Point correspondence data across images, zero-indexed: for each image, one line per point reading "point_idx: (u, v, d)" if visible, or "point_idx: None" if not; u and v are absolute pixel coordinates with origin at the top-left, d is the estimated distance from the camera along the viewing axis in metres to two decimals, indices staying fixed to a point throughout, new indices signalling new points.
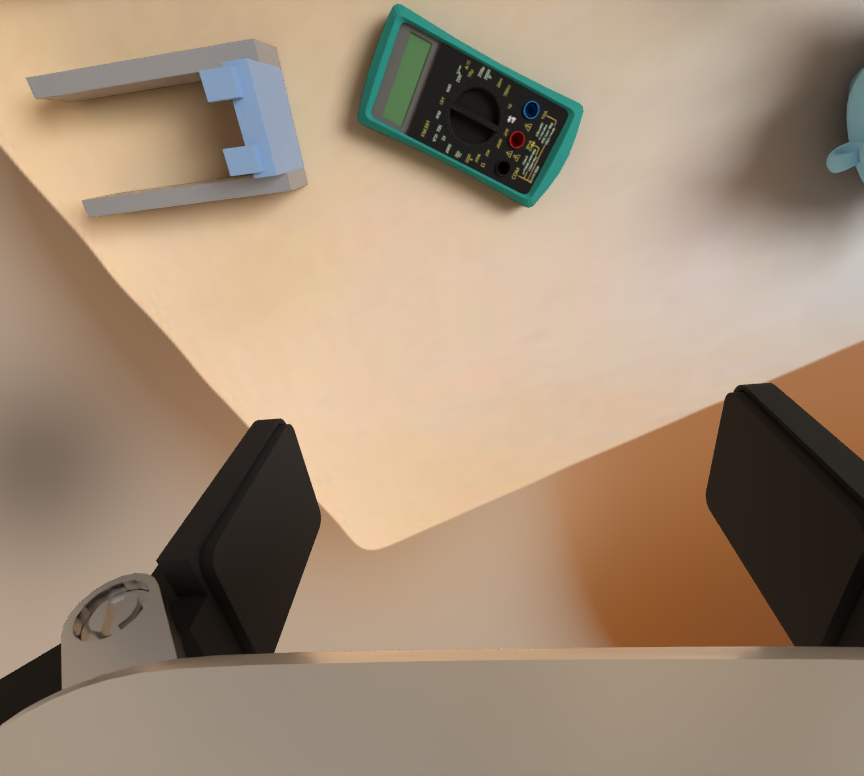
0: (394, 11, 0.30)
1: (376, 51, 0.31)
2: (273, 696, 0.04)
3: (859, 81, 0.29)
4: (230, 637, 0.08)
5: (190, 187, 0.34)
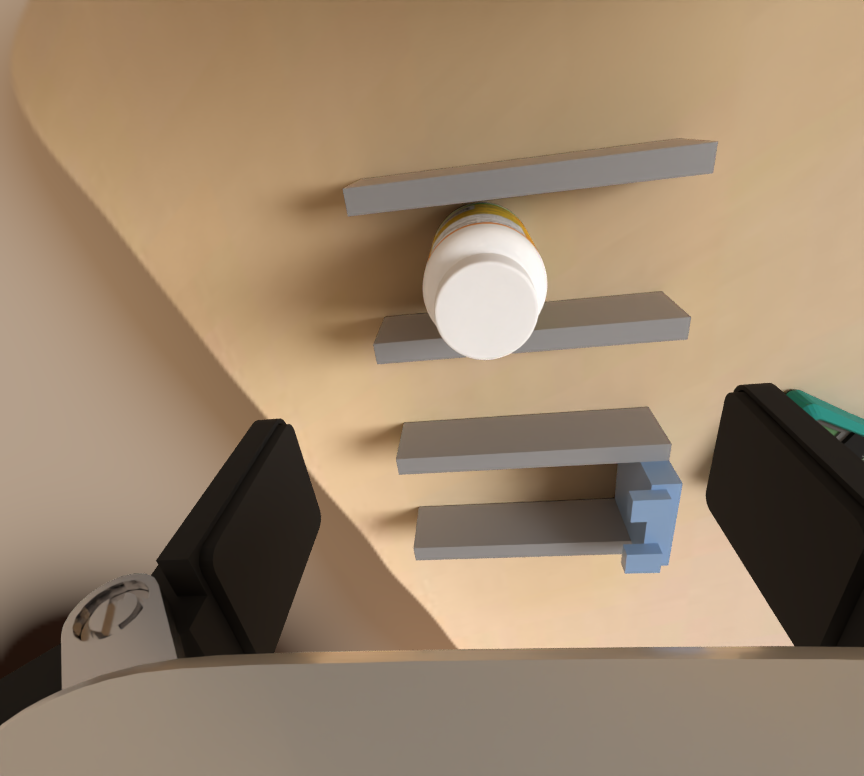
0: (809, 411, 0.28)
1: None
2: (273, 696, 0.04)
3: None
4: (230, 638, 0.08)
5: (541, 545, 0.32)
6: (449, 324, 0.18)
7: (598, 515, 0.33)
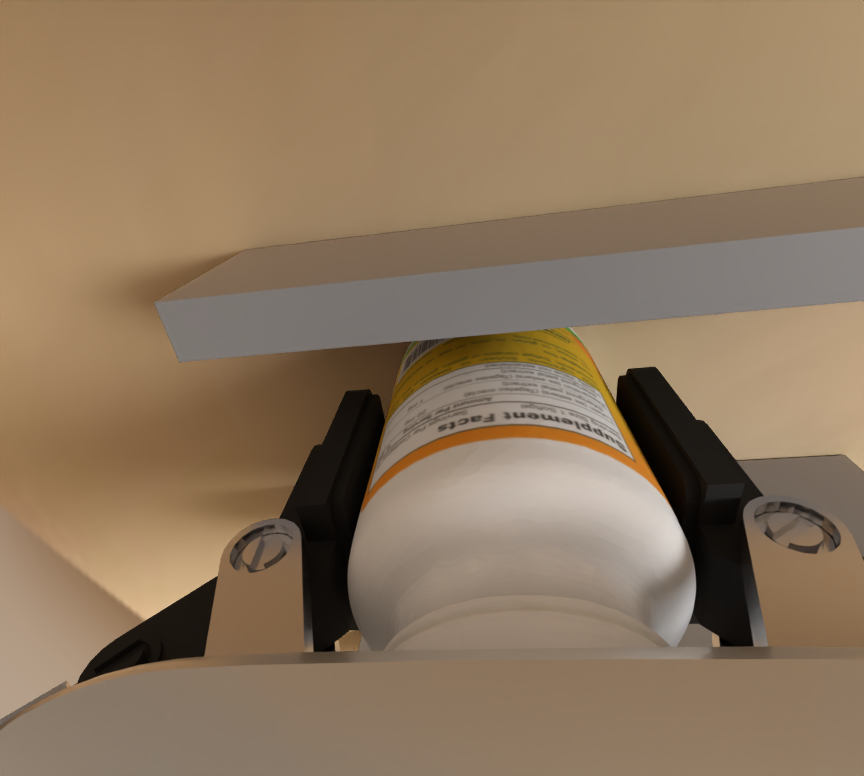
0: None
1: None
2: (273, 696, 0.04)
3: None
4: None
5: None
6: None
7: None
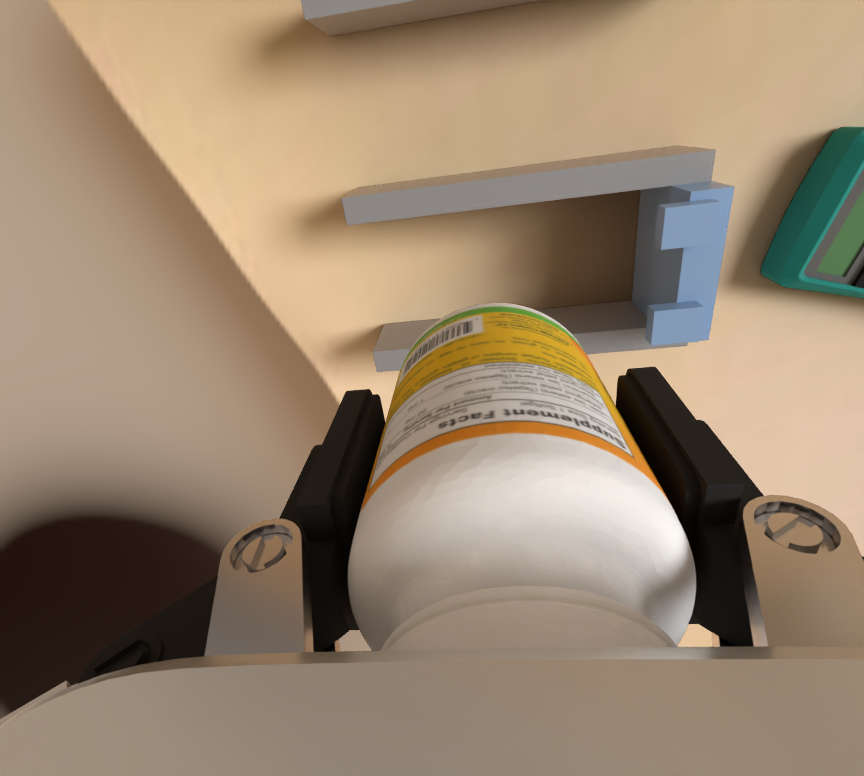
0: None
1: (825, 195, 0.22)
2: (273, 696, 0.04)
3: None
4: None
5: None
6: None
7: (611, 312, 0.26)
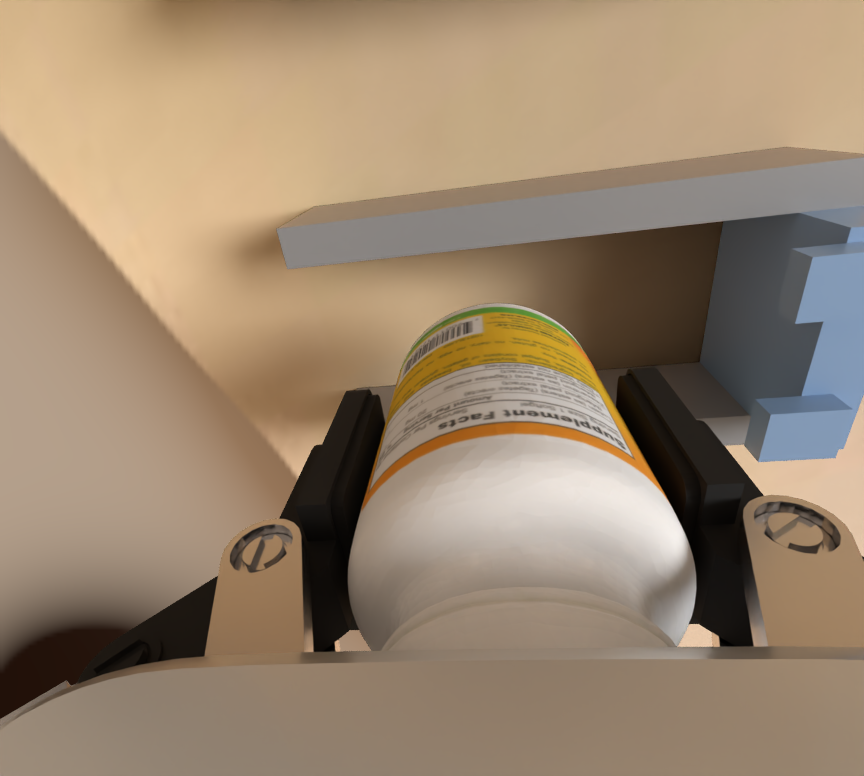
0: None
1: None
2: (273, 696, 0.04)
3: None
4: None
5: None
6: None
7: (675, 384, 0.18)
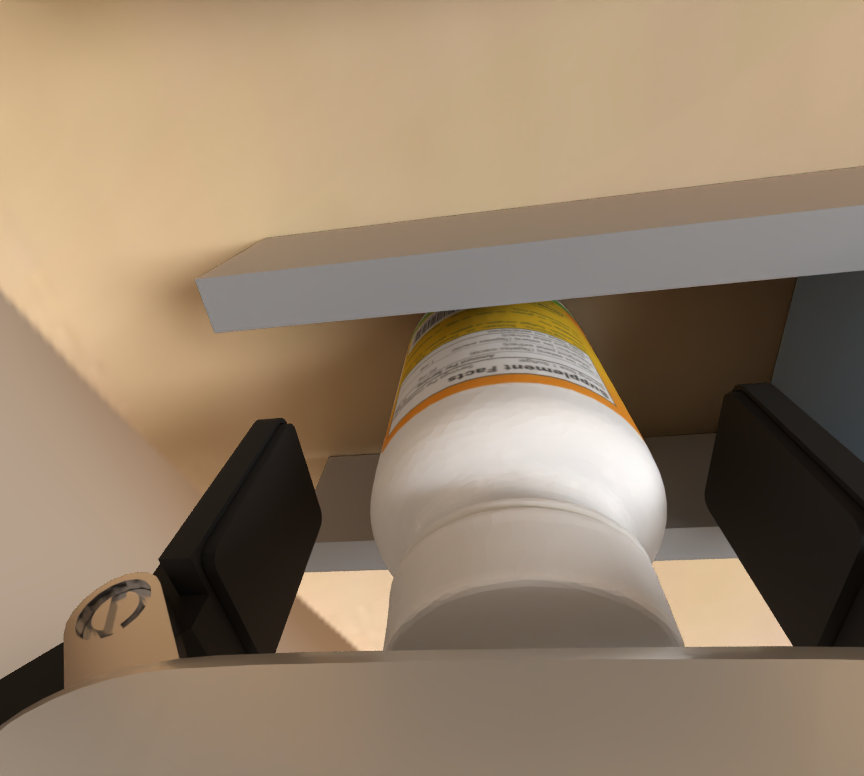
0: None
1: None
2: (273, 696, 0.04)
3: None
4: (232, 637, 0.08)
5: None
6: None
7: None
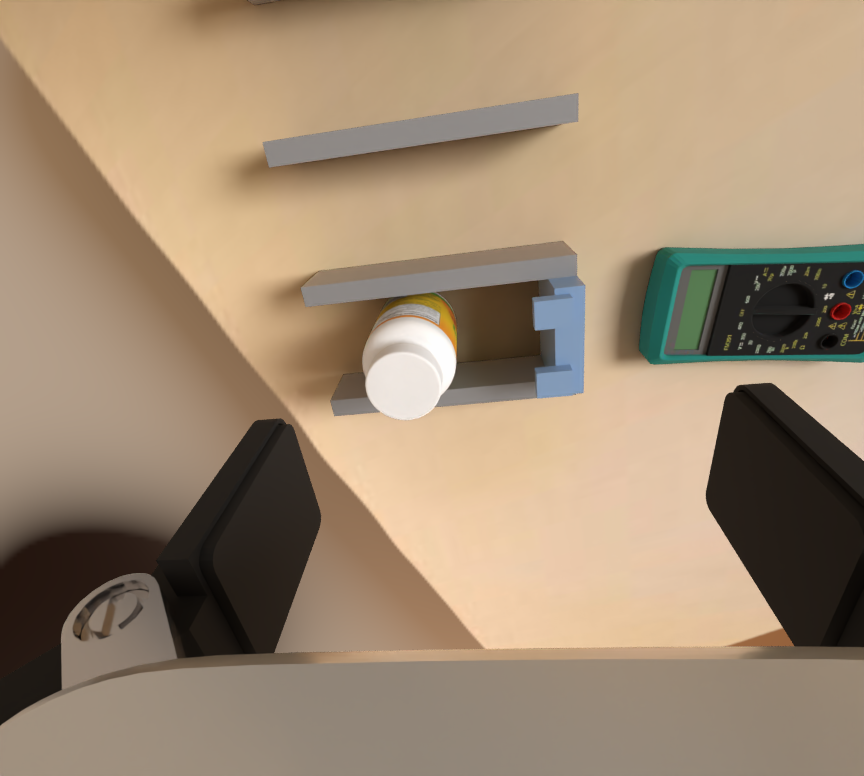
0: (672, 262, 0.28)
1: (658, 301, 0.29)
2: (273, 696, 0.04)
3: None
4: (230, 638, 0.08)
5: (460, 390, 0.31)
6: (377, 395, 0.25)
7: (521, 366, 0.32)
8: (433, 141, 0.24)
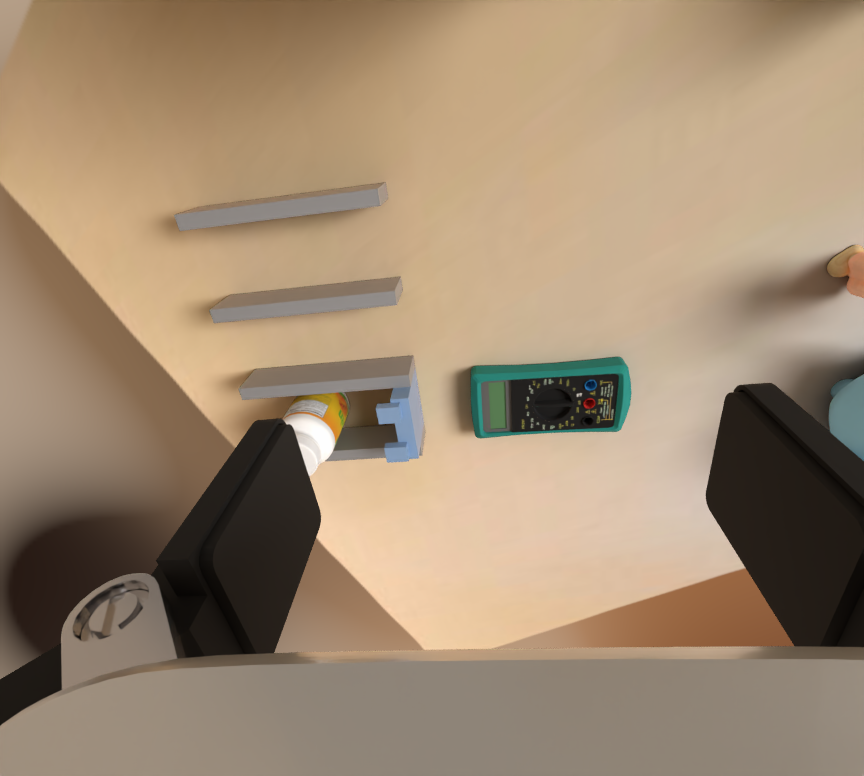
0: (474, 380, 0.44)
1: (472, 402, 0.45)
2: (273, 696, 0.04)
3: (836, 406, 0.42)
4: (230, 637, 0.08)
5: (346, 451, 0.46)
6: None
7: (392, 433, 0.48)
8: (312, 312, 0.40)
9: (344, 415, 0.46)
